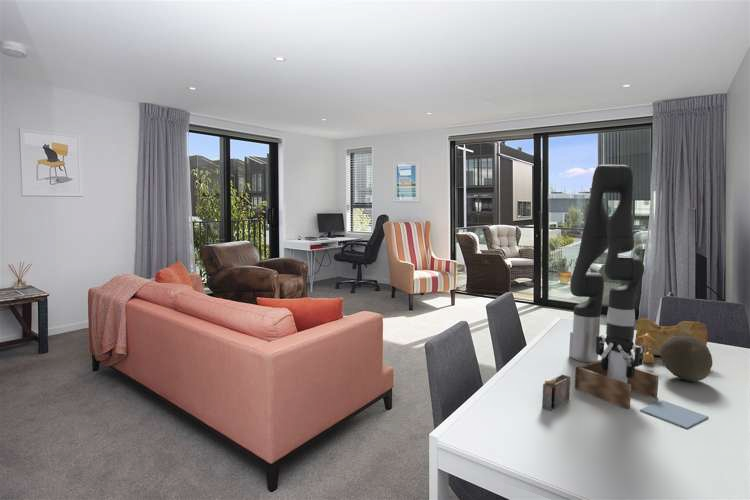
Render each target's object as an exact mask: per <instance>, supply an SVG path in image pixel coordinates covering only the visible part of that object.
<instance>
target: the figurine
mask: <svg viewBox="0 0 750 500" xmlns="http://www.w3.org/2000/svg"><path fill="white" fill-rule="evenodd" d="M635 338H636V337H635ZM638 338H643V339H644V341H645V342H643V345H644V352H645V353H643V363H645V364H651V363H653V362H654V359H655V357H654V356H655V355H652V354H651V353H650V350H651V348H652V346H651V343H649V341H650V339H651V340H653V341H655V342H656V343H657V341H656V340H654V339H653V338H651V337H650V336H649V333H646V334H645V335H643V336H639V337H637V338H636V340H635V339H634V344H635V343H636V341H637V339H638ZM647 345H648V347H650V348H649V353H648V352H646V346H647ZM657 345H659V344H658V343H657ZM659 347H660V345H659Z"/></svg>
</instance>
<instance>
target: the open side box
mask: <svg viewBox="0 0 750 500" xmlns="http://www.w3.org/2000/svg"><path fill="white" fill-rule="evenodd" d="M601 364H602V359H598V361H595V362H587V363H585V364H582V365H579V366H576V367H575V379H574V389H576V390H579V391H581V392H583V393H585V394H588V395H591V396H594V397H596V398H598V399H601V400H604V401H606V402H609V403H612V404H613V405H616V406H619V407H621V408H624V409H626V410H628V409H631V396H632V390H633V391H635V392H637V393H640V394H643V395H647V396H648V397H652V398H657V397H658V392H659V378H660V375H659V374H657V373H654V372H651V371H648V370H644V369H641V368H638V367H635V373H634V376H633V377H632V378H627V383H625V382H622V381H619V380H616V379H613V378H610V377H607V370H603V368H602V366H601Z"/></svg>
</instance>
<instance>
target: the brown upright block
mask: <svg viewBox="0 0 750 500" xmlns="http://www.w3.org/2000/svg"><path fill="white" fill-rule="evenodd" d="M571 379H572V378H571V376H569V375H567V374H563V373H562V374H560V375H558V376H556V377H554V378H552V379H550V380H545V381H544V383H543V384H542V401H541V403H542V404H541V408H542V409H544V410H546V411H549V412H552V409H557V408H558V407H560V406H561V405H563V404H565V403H567V402H568V401H571V399H570V395H571V393H570V392H571ZM552 406H553V408H552Z"/></svg>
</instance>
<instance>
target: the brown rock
mask: <svg viewBox="0 0 750 500" xmlns="http://www.w3.org/2000/svg"><path fill="white" fill-rule="evenodd" d="M660 355H661V356H660V358H661V361H662V365H664V367H665V368H666V369H667V370H668V372H670V373H671V375H672V374H673V375H674V376H675V377H676V378H678V379H681V380H684V381H687V382H699V381H702V380H703V381H704V379H706V378H707V377H708V376H709V375H710V373H711V369H712V367H713V363H714V362H713V357H712V353H711V351H710V349H709V347H708V346H707V345H705V344H704V343H703V342H702V341H701V340H699V339H697V338H695V337H691V336H673V337H671V338H669V339H668V340H666V341H665V342H664V343H663V345H662V346H661V349H660Z"/></svg>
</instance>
